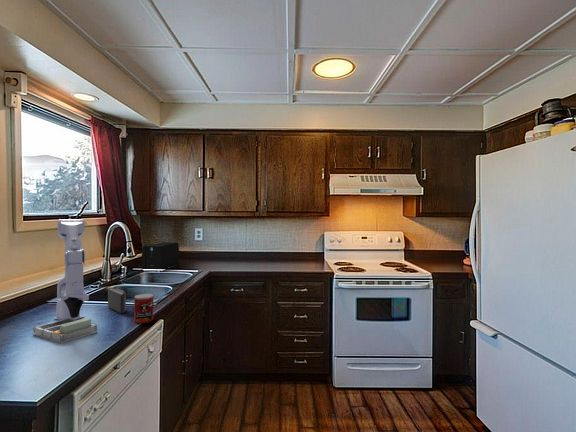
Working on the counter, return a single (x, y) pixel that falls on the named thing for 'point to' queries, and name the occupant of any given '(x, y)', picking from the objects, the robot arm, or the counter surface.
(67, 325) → the pale green rectangular box
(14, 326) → the counter surface
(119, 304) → the leaning round-cornered charcoal block
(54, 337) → the rack
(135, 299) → the canned food
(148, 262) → the uninterruptible power supply
